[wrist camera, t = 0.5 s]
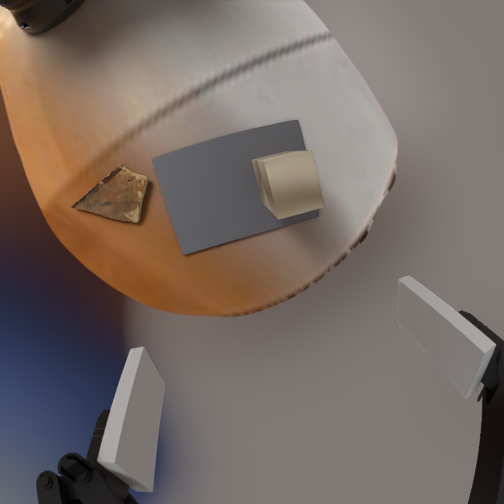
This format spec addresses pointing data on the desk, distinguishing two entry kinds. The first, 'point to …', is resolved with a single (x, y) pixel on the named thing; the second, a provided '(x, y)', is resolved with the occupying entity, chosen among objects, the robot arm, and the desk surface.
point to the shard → (116, 195)
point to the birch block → (288, 183)
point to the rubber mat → (223, 186)
